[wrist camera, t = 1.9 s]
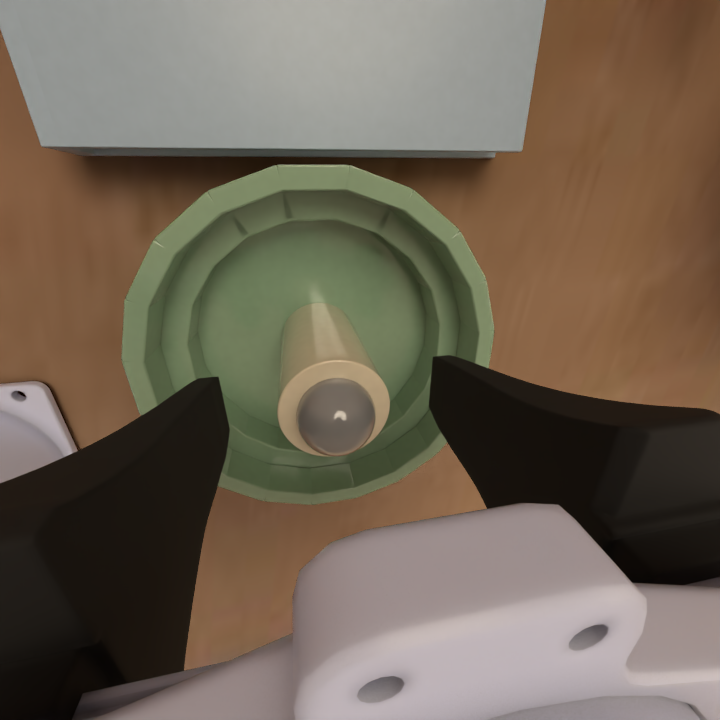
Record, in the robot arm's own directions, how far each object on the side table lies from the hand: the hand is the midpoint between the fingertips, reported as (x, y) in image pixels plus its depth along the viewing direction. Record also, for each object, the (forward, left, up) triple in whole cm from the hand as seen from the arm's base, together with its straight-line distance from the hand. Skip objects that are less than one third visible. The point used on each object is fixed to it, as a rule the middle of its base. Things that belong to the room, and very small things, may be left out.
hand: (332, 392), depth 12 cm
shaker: (0, 0, -5) cm, 5 cm away
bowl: (0, 0, -6) cm, 6 cm away
